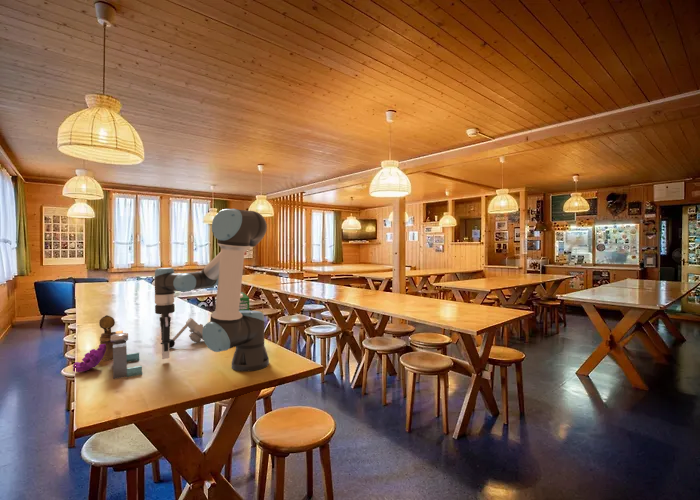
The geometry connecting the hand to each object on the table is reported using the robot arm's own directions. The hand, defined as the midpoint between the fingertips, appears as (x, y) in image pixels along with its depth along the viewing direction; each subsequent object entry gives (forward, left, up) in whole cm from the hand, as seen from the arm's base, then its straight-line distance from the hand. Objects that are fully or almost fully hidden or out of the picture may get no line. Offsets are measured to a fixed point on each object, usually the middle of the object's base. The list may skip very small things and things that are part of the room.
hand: (165, 358), depth 156 cm
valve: (+25, -18, -5) cm, 31 cm away
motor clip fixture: (0, +14, -2) cm, 15 cm away
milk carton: (+19, -37, -2) cm, 41 cm away
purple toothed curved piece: (+6, +27, -2) cm, 28 cm away
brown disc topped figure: (+24, +21, -2) cm, 32 cm away
